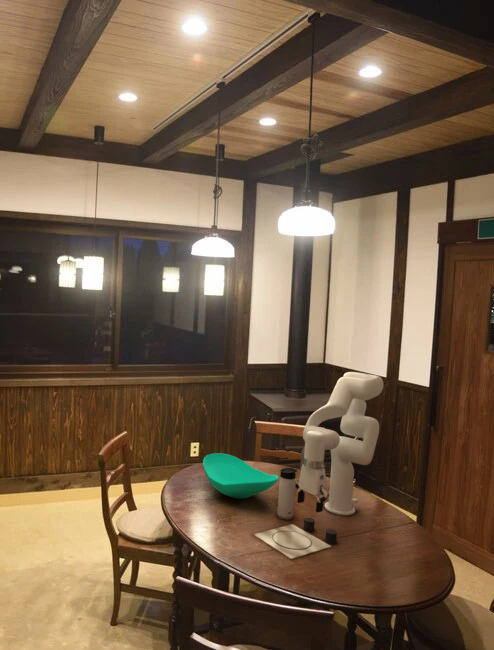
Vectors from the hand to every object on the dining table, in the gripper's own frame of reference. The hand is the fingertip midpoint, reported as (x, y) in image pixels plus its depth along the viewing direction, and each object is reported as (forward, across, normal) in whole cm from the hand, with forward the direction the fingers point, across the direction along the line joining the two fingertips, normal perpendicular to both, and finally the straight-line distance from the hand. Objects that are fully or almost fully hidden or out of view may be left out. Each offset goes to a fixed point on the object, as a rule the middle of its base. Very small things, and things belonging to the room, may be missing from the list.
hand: (309, 506), depth 208 cm
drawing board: (+10, -4, +12) cm, 16 cm away
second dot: (+9, -11, -1) cm, 14 cm away
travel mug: (+9, +13, -1) cm, 16 cm away
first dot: (+9, 0, -1) cm, 9 cm away
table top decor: (+9, +39, +3) cm, 40 cm away
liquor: (+8, +33, -36) cm, 49 cm away
